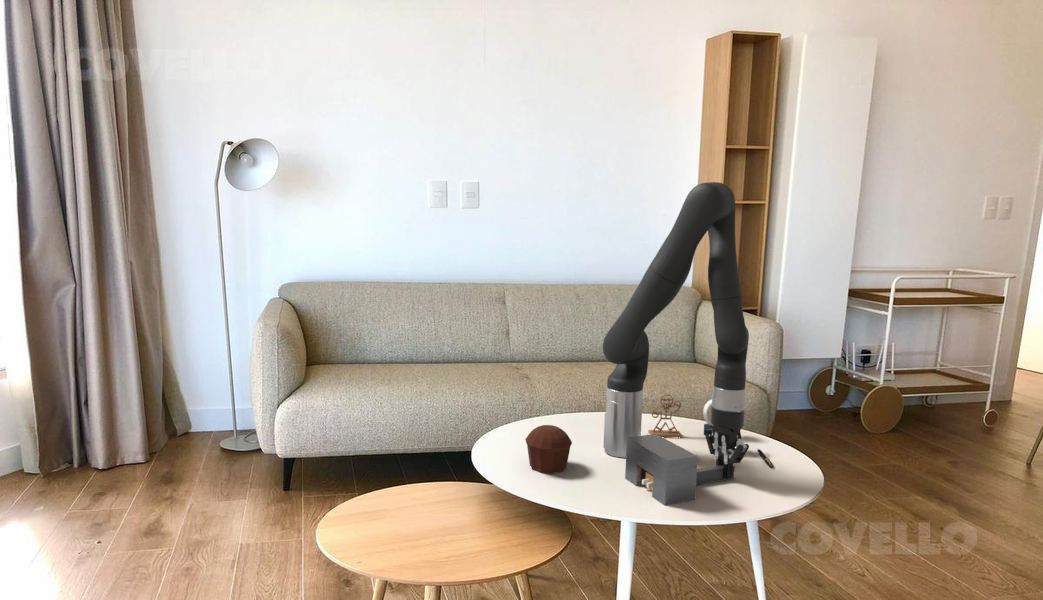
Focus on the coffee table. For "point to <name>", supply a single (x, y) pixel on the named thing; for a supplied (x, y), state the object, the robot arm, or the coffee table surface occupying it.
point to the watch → (707, 416)
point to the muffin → (548, 449)
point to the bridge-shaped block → (662, 468)
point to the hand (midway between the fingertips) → (723, 476)
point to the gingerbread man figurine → (664, 432)
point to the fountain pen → (765, 458)
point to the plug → (702, 476)
